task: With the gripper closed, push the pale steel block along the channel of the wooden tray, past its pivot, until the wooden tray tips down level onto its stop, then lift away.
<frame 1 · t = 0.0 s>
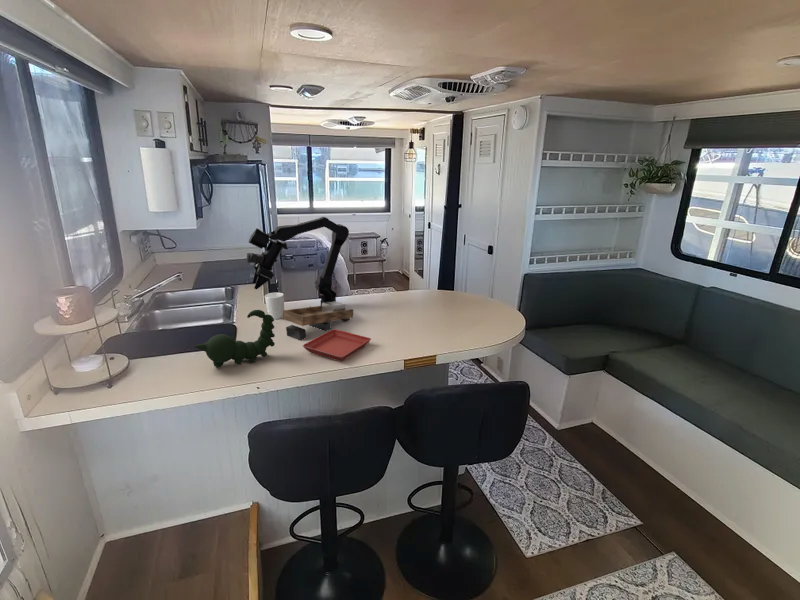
hand: (254, 286, 178), 15 cm above the counter, tool tilted 35°, fingers open, 9 cm apart
toy figurine: (240, 362, 144), on the counter
steel block: (333, 312, 177), point 4 cm above the counter, tilted 10°, touching wooden tray
plant saucer: (337, 350, 153), on the counter
white cup: (276, 317, 185), on the counter
seesaw stand: (319, 327, 173), on the counter
wooden tray: (319, 314, 171), point 6 cm above the counter, hinge at -10.4°, touching steel block
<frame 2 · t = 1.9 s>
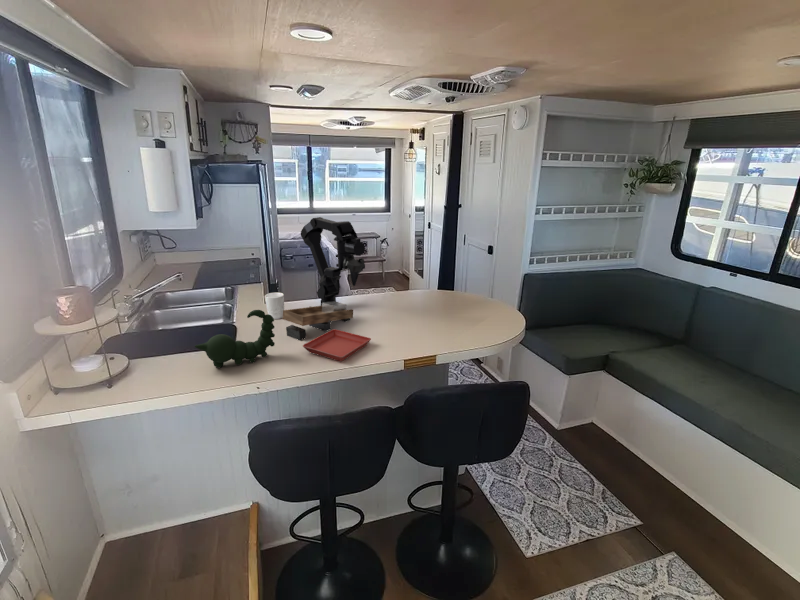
hand: (346, 287, 181), 13 cm above the counter, tool pointing down, fingers open, 9 cm apart
nothing on the counter moved.
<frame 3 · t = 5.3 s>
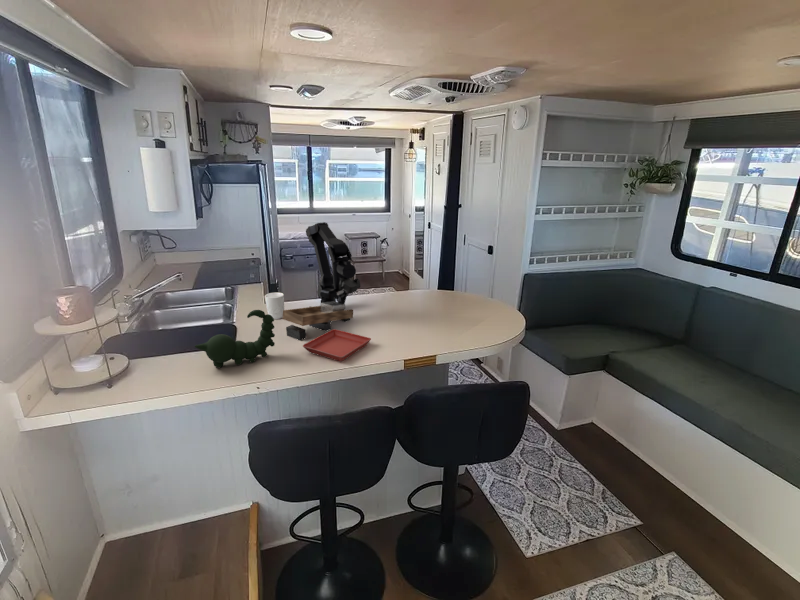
hand: (342, 307, 181), 5 cm above the counter, tool pointing down, fingers closed
steel block: (332, 312, 177), point 4 cm above the counter, tilted 10°, touching gripper, wooden tray
everything else where it was.
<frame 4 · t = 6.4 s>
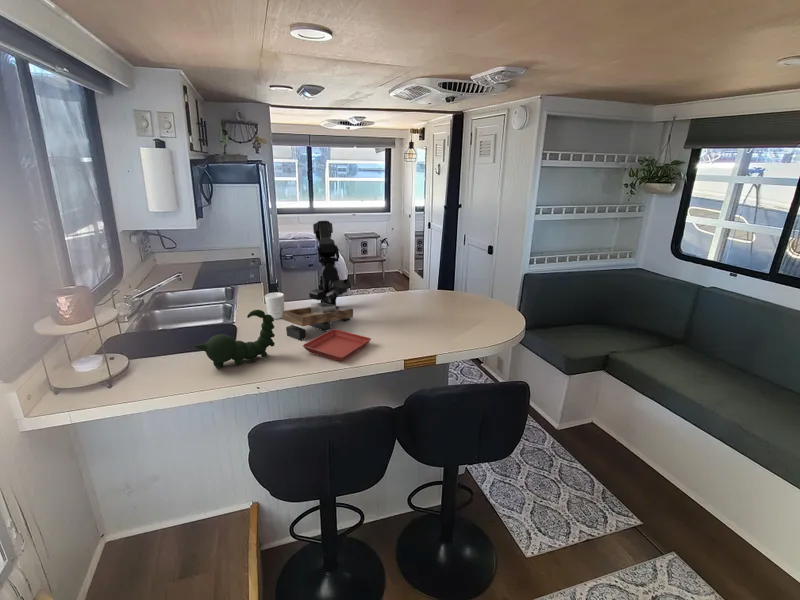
hand: (332, 308, 177), 6 cm above the counter, tool pointing down, fingers closed
steel block: (322, 314, 173), point 5 cm above the counter, tilted 10°, touching gripper
wooden tray: (319, 314, 171), point 6 cm above the counter, hinge at -9.6°
everything else where it was.
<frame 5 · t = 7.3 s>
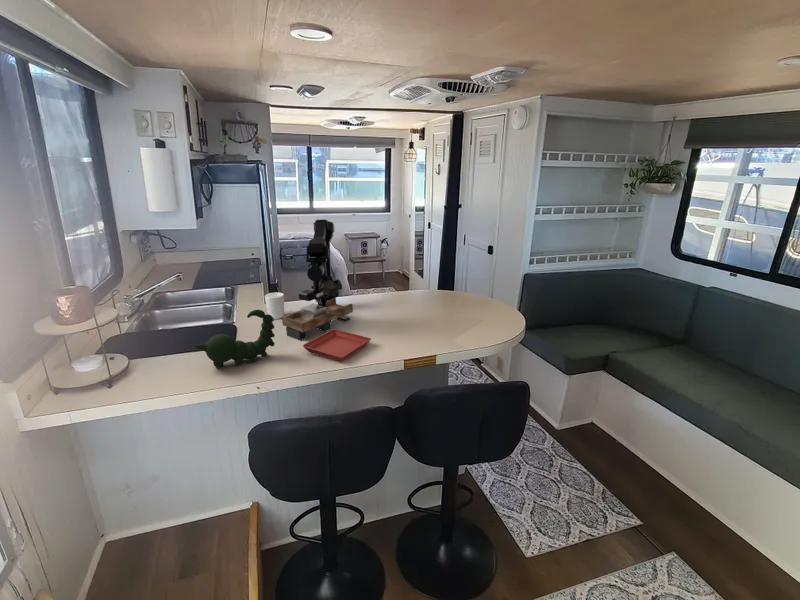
hand: (322, 310, 173), 7 cm above the counter, tool pointing down, fingers closed
steel block: (314, 316, 169), point 6 cm above the counter, touching gripper
wooden tray: (318, 314, 171), point 6 cm above the counter, hinge at 0.5°
everything else where it was.
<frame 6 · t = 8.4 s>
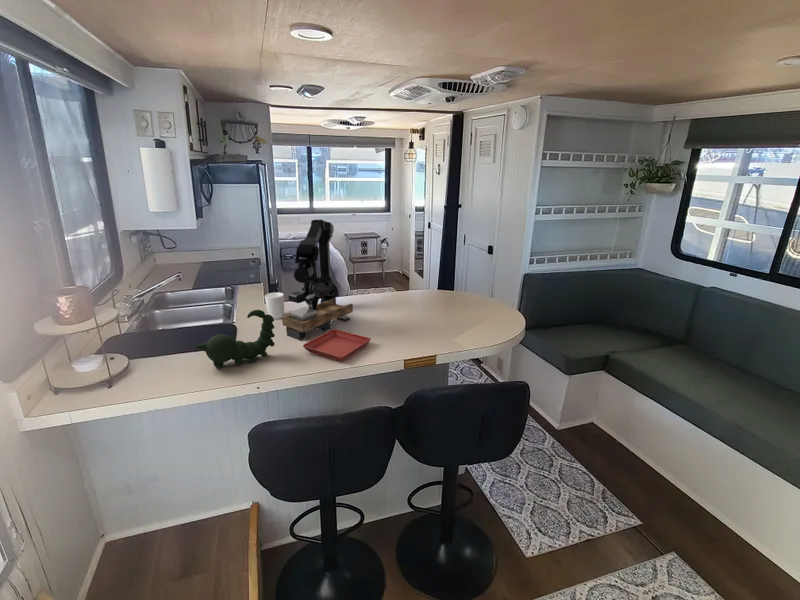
hand: (313, 312, 169), 7 cm above the counter, tool pointing down, fingers closed
steel block: (304, 320, 166), point 5 cm above the counter, touching gripper, wooden tray
wooden tray: (318, 314, 171), point 6 cm above the counter, hinge at 0.5°, touching steel block
everything else where it was.
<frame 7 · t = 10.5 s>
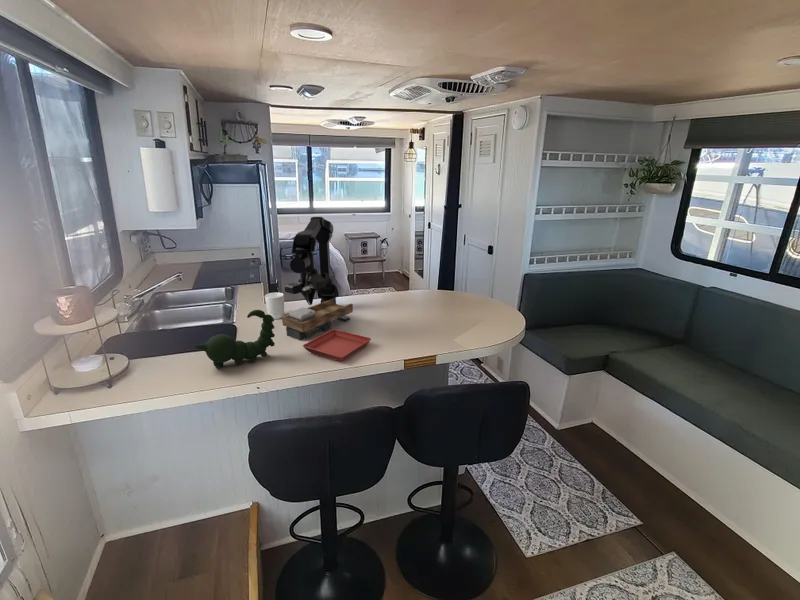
hand: (310, 304, 166), 11 cm above the counter, tool pointing down, fingers closed
steel block: (303, 321, 165), point 5 cm above the counter, touching wooden tray
everything else where it was.
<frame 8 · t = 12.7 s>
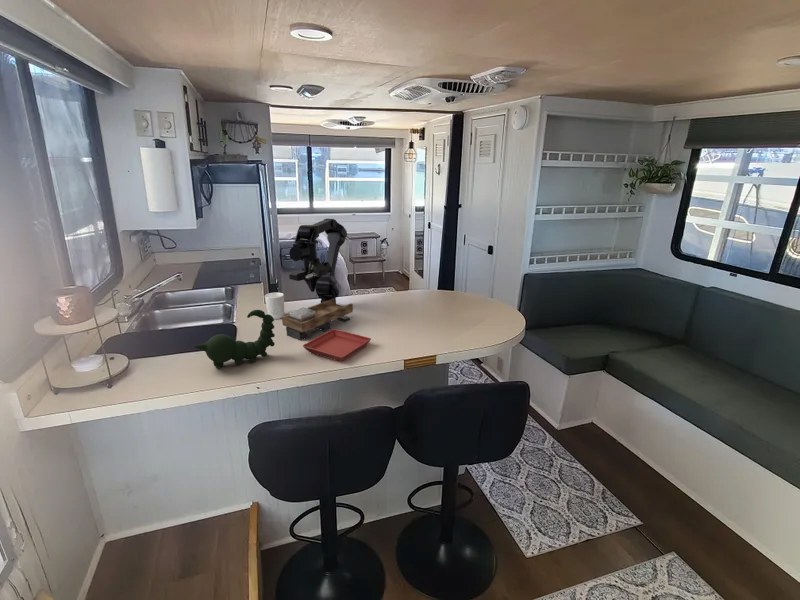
hand: (312, 291, 179), 12 cm above the counter, tool pointing down, fingers closed
nothing on the counter moved.
at the end: wooden tray at +0° (first picture: -10°); steel block inside the target area on the wooden tray (0.2 cm from its centre), point 1.4 cm above the wooden tray's base; steel block tilted 0° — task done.
